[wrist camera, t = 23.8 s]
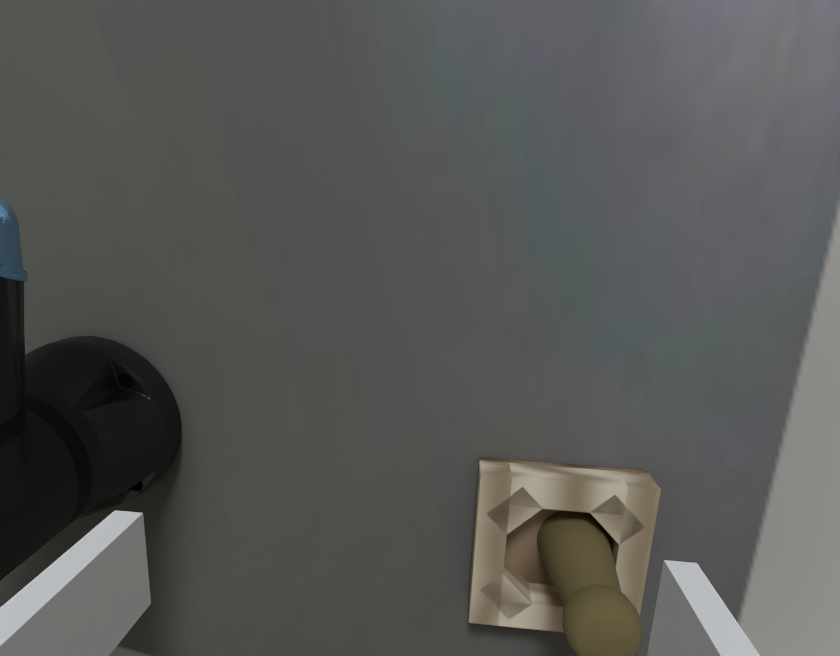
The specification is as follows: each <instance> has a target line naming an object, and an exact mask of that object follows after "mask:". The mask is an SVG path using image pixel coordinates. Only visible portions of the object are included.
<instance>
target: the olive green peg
mask: <svg viewBox="0 0 840 656" xmlns="http://www.w3.org/2000/svg"><path fill="white" fill-rule="evenodd" d="M537 546H538V548H539V551H540V554H541V556H542V558H543V561H544V563H545V565H546V567H547V569H548V572H549V574H550V576H551V578H552V581H553V583H554V585H555V587H556V589H557V592H558V594H559V596H560V598H561V601H562V603H563V605H564V608H563V618H562V626H563V631H564V634H565V637H566V640H567V642H568V644H569V646H570V647H571V649H572V650H573V651H574V652H575V653H576V655H577V656H635V655H636V654H637V652H638V650H639V648H640V646H641V643H642V637H643V628H642V623H641V620H640V617H639V614H638V612H637V610H636V608H635V606H634V605H633V604H632V603H631V601H630V600H629V599H628V598H627V597H626V595H625V594H623V593H622V592H621V588H620V584H619V580H618V576H617V572H616V568H615V564H614V559H613V555H612V551H611V547H610V543H609V539H608V535H607V532H606V530H605V529H604V528H603V526H602V525H601V524H600V523H599V522H598V521H597V520H596V519H595V518H594V517H593V516H592V514H591V513H587V512H576V511H564V510H561V511H558V512H556V513H554V514H552V515H551V516H549V517H547V519H546V520H545V521H544V522H543V523H542V524H541V526H540V528H539V531H538V533H537Z"/></svg>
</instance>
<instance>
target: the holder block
mask: <svg viewBox="0 0 840 656" xmlns="http://www.w3.org/2000/svg"><path fill="white" fill-rule="evenodd" d="M660 492H661V489H660V488H659V487H658V485H657V484H656V483H655V481H654V480H653V478H652V477H651V476H650V474H649V473H648V472H647V471H644V470H631V469H619V468H606V467H593V466H581V465H568V464H556V463H543V462H530V461H518V460H505V459H493V458H480V457H479V467H478V480H477V493H476V506H475V518H474V531H473V544H472V557H471V569H470V582H469V595H468V605H469V623H476V624H486V625H496V626H506V627H515V628H525V629H535V630H545V631H555V632H564V631H563V626H562V618H563V608H564V605H563V603H562V601H561V598H560V596H559V594H558V592H557V589H556V587H555V585H554V583H553V581H552V578H551V576H550V574H549V572H548V569H547V567H546V565H545V563H544V561H543V558H542V556H541V554H540V551H539V548H538V546H537V533H538V531H539V528H540V526H541V524H542V523H543V522H544V521H545V520H546V519H547V517H549V516H551V515H552V514H554V513H556V512H558V511H561V510H564V511H576V512H587V513H591V514H592V516H593V517H594V518H595V519H596V520H597V521H598V522H599V523H600V524H601V525H602V526H603V528H604V529H605V530H606V532H607V535H608V539H609V543H610V547H611V551H612V555H613V559H614V564H615V568H616V572H617V576H618V580H619V584H620V588H621V592H622V593H623V594H625V595H626V597H627V598H628V599H629V600H630V601H631V603H632V604H633V605H634V606H635V608H636V610H637V612H638V614H639V616H640V610H641V604H642V598H643V592H644V586H645V581H646V575H647V569H648V563H649V557H650V551H651V545H652V539H653V533H654V528H655V522H656V516H657V510H658V504H659V498H660Z"/></svg>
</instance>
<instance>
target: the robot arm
mask: <svg viewBox="0 0 840 656" xmlns="http://www.w3.org/2000/svg"><path fill="white" fill-rule="evenodd" d="M24 281H27V272H26V271H24V270H23V263H22V253H21V244H20V233H19V223H18V219H17V217H16V215H15V213H14V211H13V210H12V208H11V207H10V206H9V205H8V204H7V203H6V202H5V201H4V200H2V199H1V198H0V580H1V579H3V578H4V577H5V576H6V575H7V574H9V573H10V572H11V571H12V570H14V569H15V568H16V567H17V566H19V565H20V564H21V563H22V562H23V561H25V560H26V559H27V558H28V557H30V556H31V555H32V554H33V553H35V552H36V551H37V550H38V549H39V548H41V547H42V546H43V545H44V544H46V543H47V542H48V541H49V540H51V539H52V538H53V537H54V536H55V535H57V534H58V533H59V532H60V531H61V530H63V529H64V528H65V527H66V526H68V525H69V524H70V523H72V522H73V521H74V520H76V519H79V518H82V517H85V516H87V515H90V514H93V513H96V512H99V511H101V510H104V509H107V508H110V507H113V506H115V505H118V504H121V503H124V502H126V501H128V500H130V499H132V498H134V497H136V496H138V495H139V494H141V493H142V492H144V491H145V490H146V489H147V488H149V487H150V486H151V485H152V484H153V483H154V482H155V481H157V480H158V479H159V478H160V477H161V476H162V475H163V474H164V473H165V472H166V471H167V469H168V468H169V467H170V465H171V463H172V462H173V460H174V458H175V455H176V453H177V450H178V446H179V441H180V418H179V412H178V408H177V405H176V402H175V399H174V397H173V394H172V392H171V390H170V388H169V387H168V385H167V383H166V382H165V380H164V379H163V377H162V376H161V375H160V374H159V372H158V371H157V370H156V369H155V368H154V367H153V366H152V365H151V364H150V363H149V362H148V361H147V360H146V359H145V358H143V357H142V356H141V355H139V354H138V353H136V352H135V351H133V350H132V349H130V348H128V347H126V346H124V345H122V344H120V343H117V342H115V341H112V340H109V339H105V338H100V337H92V336H78V337H71V338H66V339H63V340H60V341H57V342H53V343H50V344H47V345H44V346H41V347H39V348H37V349H35V350H33V351H31V352H29V353H28V354H26V355H25V342H24ZM150 604H151V597H150V586H149V575H148V563H147V552H146V541H145V529H144V518H143V513H139V512H128V511H117V510H115V511H114V512H112V513H111V514H110V515H109V516H108V517H106V518H105V519H104V520H103V521H102V522H101V523H99V524H98V525H97V526H96V527H95V528H93V529H92V530H91V531H90V532H89V533H88V534H86V535H85V536H84V537H83V538H82V539H81V540H79V541H78V542H77V543H76V544H75V545H73V546H72V547H71V548H70V549H69V550H68V551H66V552H65V553H64V554H63V555H62V556H61V557H59V558H58V559H57V560H56V561H55V562H53V563H52V564H51V565H50V566H49V567H48V568H46V569H45V570H44V571H43V572H42V573H40V574H39V575H38V576H37V577H36V578H35V579H33V580H32V581H31V582H30V583H29V584H28V585H26V586H25V587H24V588H23V589H22V590H20V591H19V592H18V593H17V594H16V595H15V596H13V597H12V598H11V599H10V600H9V601H8V602H6V603H5V604H4V605H3V606H2V607H0V656H109V655H110V654H111V653H112V652H113V650H114V649H115V648H116V647H117V645H118V644H119V643H120V642H121V640H122V639H123V638H124V637H125V635H126V634H127V633H128V632H129V630H130V629H131V628H132V627H133V625H134V624H135V623H136V622H137V620H138V619H139V618H140V617H141V615H142V614H143V613H144V612H145V610H146V609H147V608H148V607H149V605H150ZM647 655H648V656H760V655H759V654H758V652H757V651H756V649H755V648H754V646H753V645H752V643H751V642H750V640H749V639H748V637H747V636H746V635H745V633H744V632H743V630H742V629H741V627H740V626H739V624H738V623H737V621H736V620H735V618H734V617H733V615H732V614H731V613H730V611H729V610H728V608H727V607H726V605H725V604H724V602H723V601H722V599H721V598H720V596H719V595H718V593H717V592H716V591H715V589H714V588H713V586H712V585H711V583H710V582H709V580H708V579H707V577H706V576H705V574H704V573H703V571H702V570H701V569H700V567H699V566H698V564H697V563H690V562H679V561H668V560H664V563H663V569H662V574H661V580H660V586H659V591H658V597H657V603H656V608H655V614H654V620H653V625H652V631H651V637H650V642H649V648H648V653H647Z"/></svg>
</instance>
